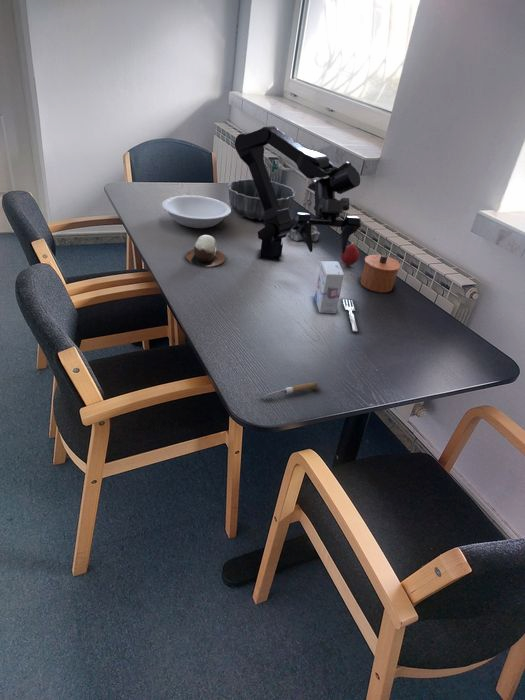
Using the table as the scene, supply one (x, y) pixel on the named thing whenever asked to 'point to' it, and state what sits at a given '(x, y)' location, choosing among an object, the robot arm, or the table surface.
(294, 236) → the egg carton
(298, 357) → the table surface
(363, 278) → the pot
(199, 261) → the brown and cream dessert
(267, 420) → the table surface
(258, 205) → the bundt pan
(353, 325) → the fork
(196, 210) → the soup bowl
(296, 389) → the folding knife
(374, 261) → the pot lid
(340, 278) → the ink box
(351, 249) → the onion
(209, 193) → the table surface
